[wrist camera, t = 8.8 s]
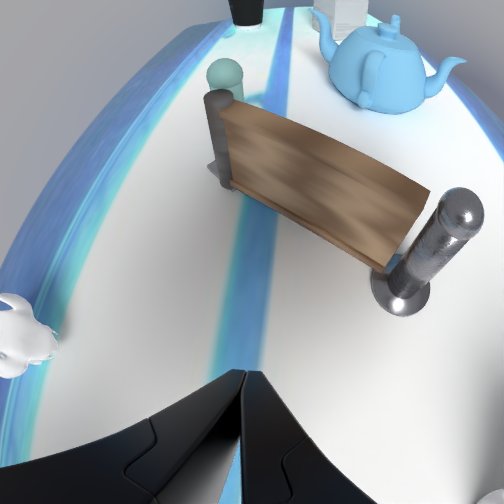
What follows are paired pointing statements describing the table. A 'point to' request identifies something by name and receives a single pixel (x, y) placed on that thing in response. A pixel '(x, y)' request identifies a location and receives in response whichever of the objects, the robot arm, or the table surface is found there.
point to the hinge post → (428, 253)
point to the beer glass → (493, 497)
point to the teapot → (380, 67)
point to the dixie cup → (247, 13)
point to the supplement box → (342, 16)
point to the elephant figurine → (22, 338)
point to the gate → (313, 179)
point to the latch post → (225, 86)
